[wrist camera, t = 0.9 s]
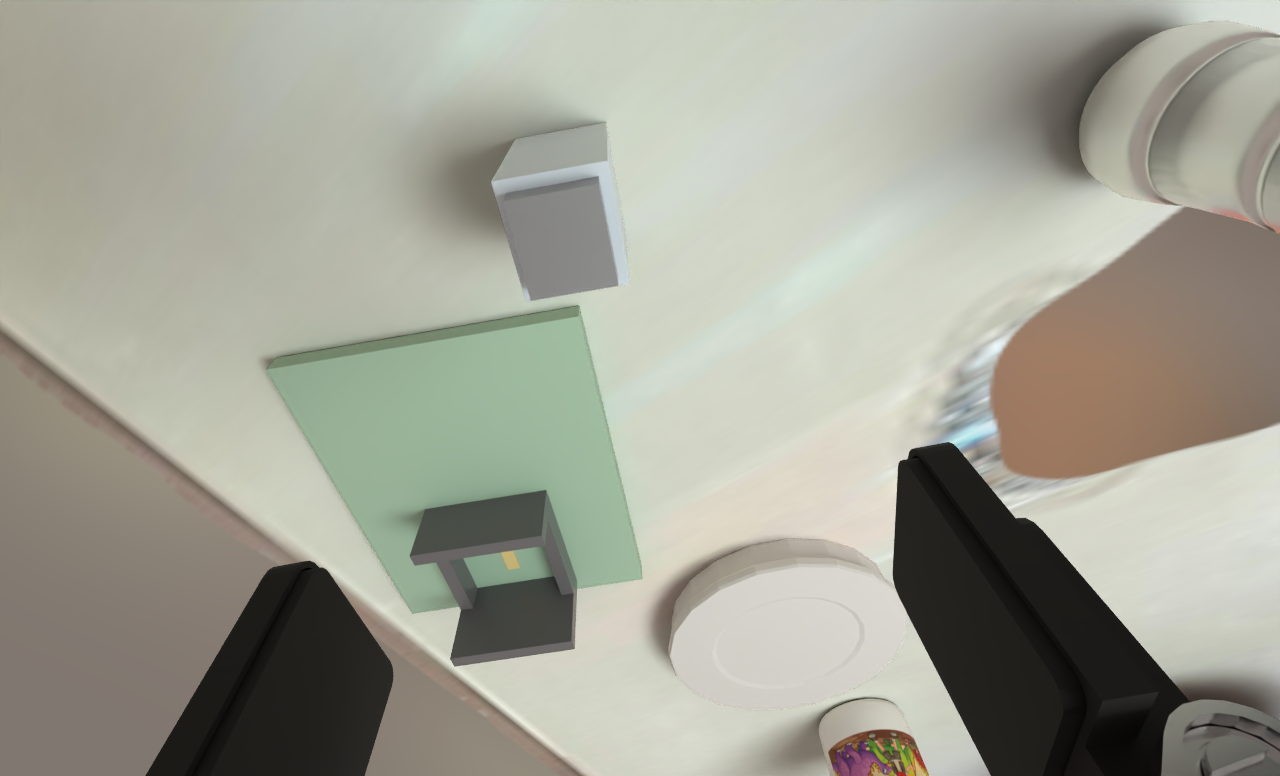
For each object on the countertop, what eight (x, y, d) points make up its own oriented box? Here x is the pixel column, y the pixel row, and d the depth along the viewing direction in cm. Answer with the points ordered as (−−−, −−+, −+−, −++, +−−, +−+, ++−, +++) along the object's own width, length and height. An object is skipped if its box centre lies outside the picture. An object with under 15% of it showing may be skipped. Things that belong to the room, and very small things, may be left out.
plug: (515, 139, 26) (486, 189, 19) (606, 121, 26) (608, 167, 19) (544, 248, 29) (526, 326, 22) (626, 233, 29) (633, 307, 22)
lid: (764, 711, 54) (772, 746, 51) (617, 608, 45) (618, 644, 42) (944, 628, 48) (963, 663, 46) (819, 491, 39) (833, 525, 37)
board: (276, 357, 31) (265, 369, 30) (579, 305, 31) (578, 316, 30) (416, 598, 42) (412, 613, 41) (641, 564, 42) (642, 579, 41)
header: (425, 509, 36) (402, 577, 32) (546, 489, 36) (539, 555, 32) (469, 597, 41) (454, 666, 37) (577, 580, 40) (574, 649, 36)
